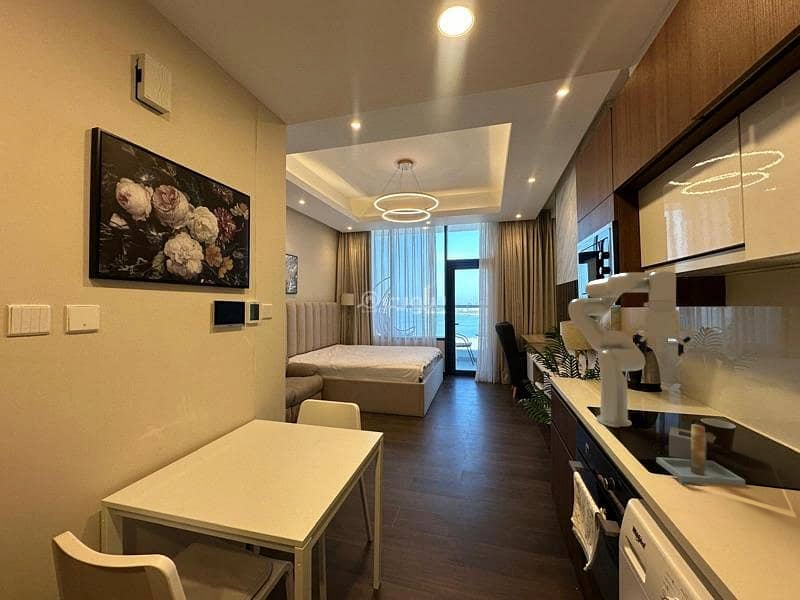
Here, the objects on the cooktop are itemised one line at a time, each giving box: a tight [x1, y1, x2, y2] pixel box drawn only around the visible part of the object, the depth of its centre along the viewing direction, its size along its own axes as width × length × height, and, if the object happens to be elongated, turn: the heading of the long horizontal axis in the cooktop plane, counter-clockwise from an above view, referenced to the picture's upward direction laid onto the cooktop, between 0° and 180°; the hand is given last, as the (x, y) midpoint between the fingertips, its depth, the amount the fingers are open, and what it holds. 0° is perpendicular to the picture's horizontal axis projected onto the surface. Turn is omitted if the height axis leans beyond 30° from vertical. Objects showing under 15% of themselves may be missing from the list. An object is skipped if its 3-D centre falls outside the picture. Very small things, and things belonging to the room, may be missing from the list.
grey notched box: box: [668, 426, 707, 460], centre depth 107 cm, size 9×9×8 cm
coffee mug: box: [691, 418, 736, 455], centre depth 113 cm, size 12×9×10 cm
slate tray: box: [655, 456, 746, 488], centre depth 96 cm, size 11×16×2 cm
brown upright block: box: [690, 423, 705, 476], centre depth 96 cm, size 3×3×14 cm
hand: (661, 354), depth 115 cm, fingers open, 9 cm apart
